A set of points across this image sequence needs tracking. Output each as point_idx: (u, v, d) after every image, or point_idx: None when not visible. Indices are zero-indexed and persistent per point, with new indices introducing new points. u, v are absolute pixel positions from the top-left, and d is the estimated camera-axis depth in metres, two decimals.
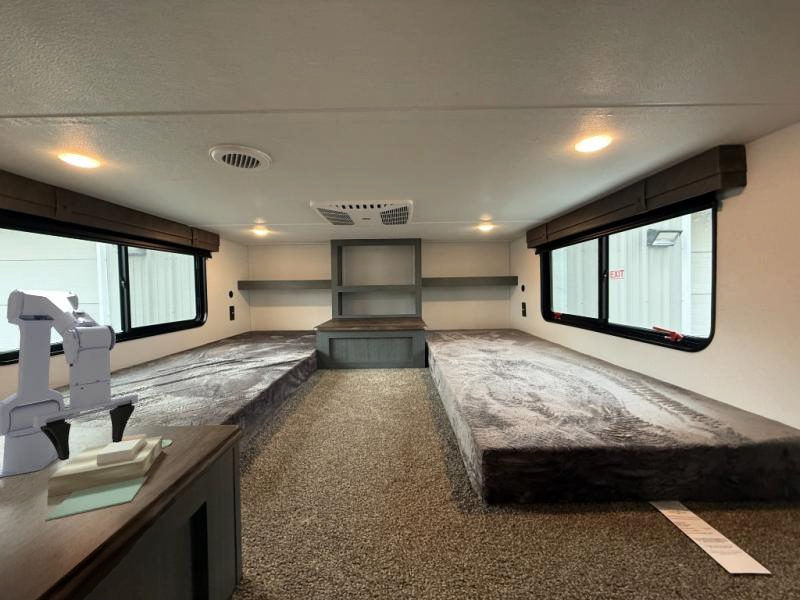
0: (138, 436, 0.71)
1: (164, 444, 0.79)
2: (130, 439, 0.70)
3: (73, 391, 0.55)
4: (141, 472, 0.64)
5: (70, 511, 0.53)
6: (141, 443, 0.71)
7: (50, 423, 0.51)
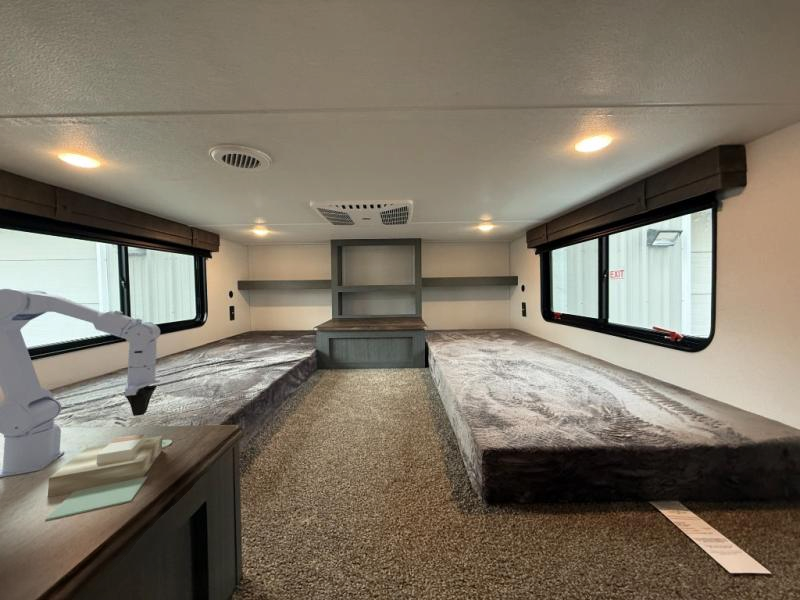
0: (138, 436, 0.71)
1: (164, 444, 0.79)
2: (130, 439, 0.70)
3: (141, 371, 0.75)
4: (141, 472, 0.64)
5: (70, 511, 0.53)
6: (141, 443, 0.71)
7: (141, 389, 0.75)
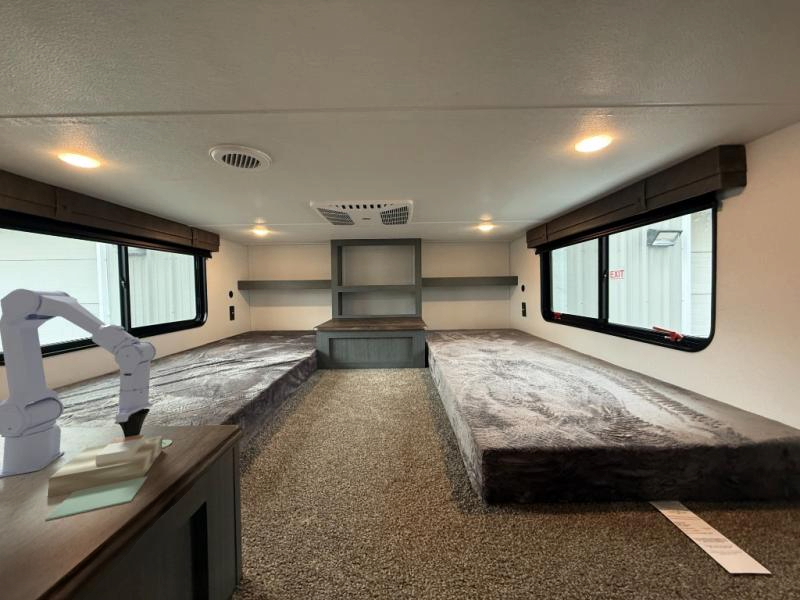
0: (137, 437, 0.71)
1: (164, 444, 0.79)
2: (129, 440, 0.69)
3: (134, 394, 0.71)
4: (141, 472, 0.64)
5: (70, 511, 0.53)
6: (140, 444, 0.70)
7: (134, 413, 0.71)
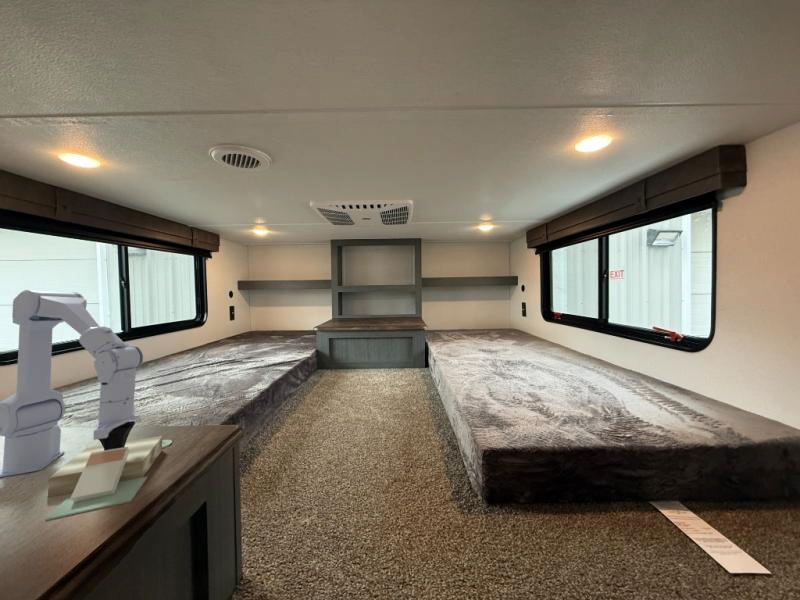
0: (118, 454, 0.62)
1: (164, 444, 0.79)
2: (109, 461, 0.60)
3: (116, 406, 0.62)
4: (141, 472, 0.64)
5: (70, 511, 0.53)
6: (124, 462, 0.62)
7: (116, 428, 0.63)
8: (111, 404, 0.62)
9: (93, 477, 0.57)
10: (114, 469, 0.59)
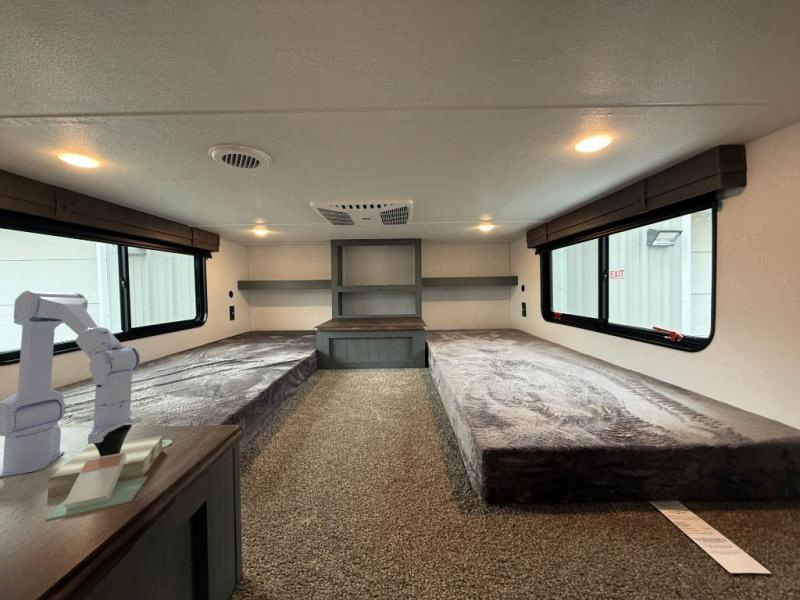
0: (115, 460, 0.60)
1: (164, 444, 0.79)
2: (105, 467, 0.59)
3: (112, 409, 0.61)
4: (141, 472, 0.64)
5: (70, 511, 0.53)
6: (120, 469, 0.60)
7: (112, 431, 0.61)
8: (106, 407, 0.60)
9: (88, 483, 0.56)
10: (110, 475, 0.58)
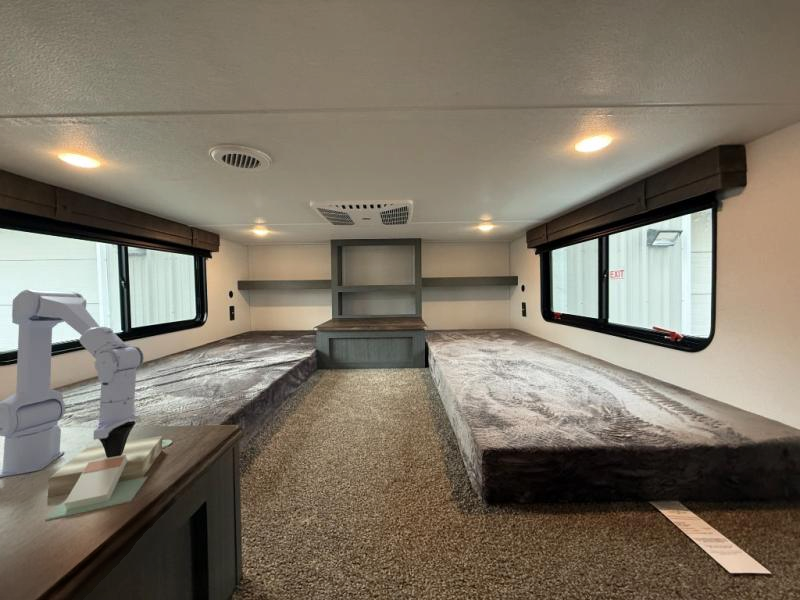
0: (116, 461, 0.61)
1: (164, 444, 0.79)
2: (106, 468, 0.59)
3: (116, 406, 0.63)
4: (141, 472, 0.64)
5: (70, 511, 0.53)
6: (121, 470, 0.61)
7: (116, 428, 0.63)
8: (111, 404, 0.62)
9: (89, 483, 0.56)
10: (111, 475, 0.58)
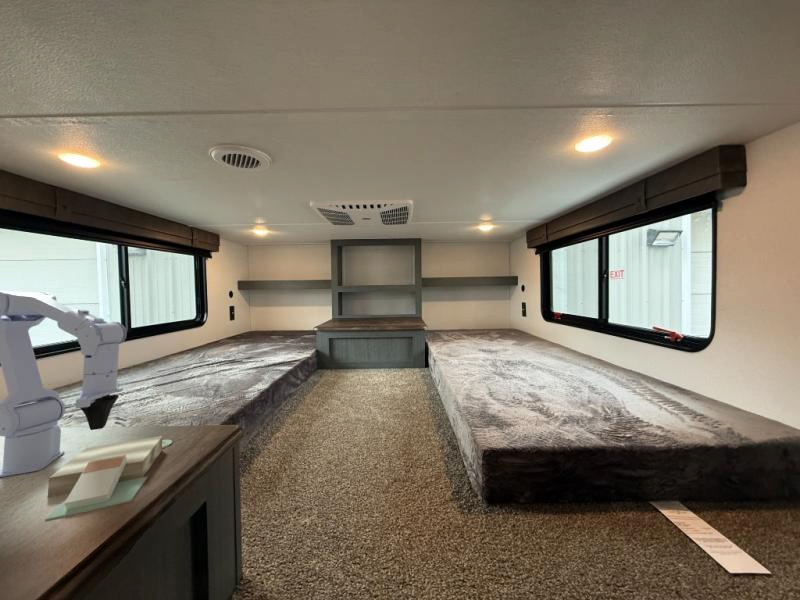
0: (116, 461, 0.61)
1: (164, 444, 0.79)
2: (106, 468, 0.59)
3: (99, 378, 0.65)
4: (141, 472, 0.64)
5: (70, 511, 0.53)
6: (121, 470, 0.61)
7: (99, 399, 0.65)
8: (94, 376, 0.64)
9: (89, 483, 0.56)
10: (111, 475, 0.58)
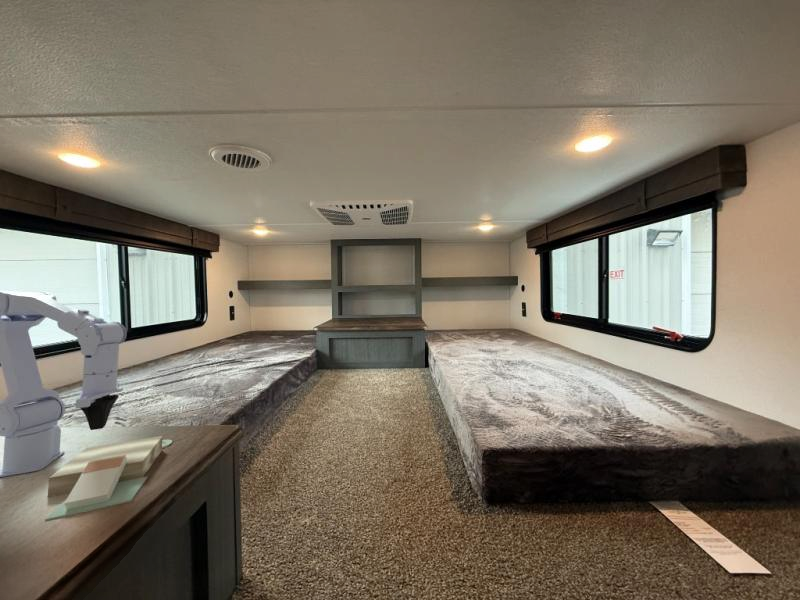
0: (116, 461, 0.61)
1: (164, 443, 0.79)
2: (106, 468, 0.59)
3: (99, 378, 0.65)
4: (141, 472, 0.64)
5: (70, 511, 0.53)
6: (121, 470, 0.61)
7: (99, 399, 0.65)
8: (94, 376, 0.64)
9: (89, 483, 0.56)
10: (111, 475, 0.58)
